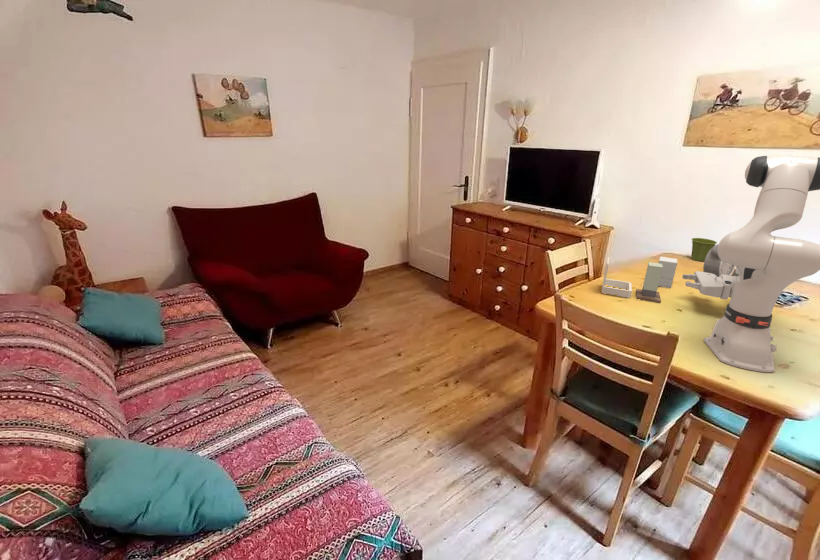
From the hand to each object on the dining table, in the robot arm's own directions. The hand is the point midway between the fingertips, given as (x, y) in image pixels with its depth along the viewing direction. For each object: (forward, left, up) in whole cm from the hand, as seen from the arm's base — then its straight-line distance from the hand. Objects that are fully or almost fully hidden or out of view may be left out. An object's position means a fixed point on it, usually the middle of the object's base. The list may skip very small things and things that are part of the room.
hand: (684, 279), depth 172 cm
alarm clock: (+39, -20, -10) cm, 45 cm away
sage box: (0, +12, -9) cm, 15 cm away
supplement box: (+20, +4, -10) cm, 23 cm away
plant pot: (+74, -17, -10) cm, 77 cm away
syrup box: (+22, -26, -10) cm, 35 cm away
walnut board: (0, +12, -10) cm, 15 cm away
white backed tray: (0, +25, -10) cm, 27 cm away
